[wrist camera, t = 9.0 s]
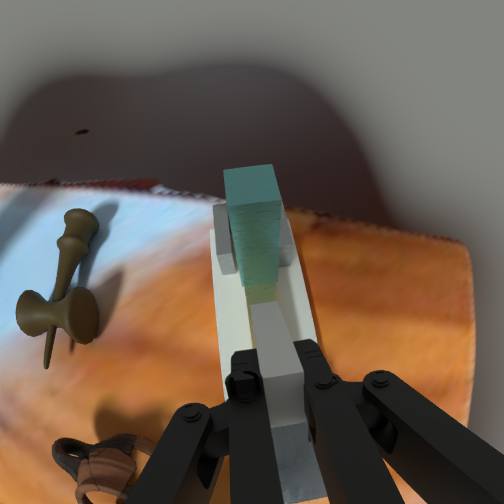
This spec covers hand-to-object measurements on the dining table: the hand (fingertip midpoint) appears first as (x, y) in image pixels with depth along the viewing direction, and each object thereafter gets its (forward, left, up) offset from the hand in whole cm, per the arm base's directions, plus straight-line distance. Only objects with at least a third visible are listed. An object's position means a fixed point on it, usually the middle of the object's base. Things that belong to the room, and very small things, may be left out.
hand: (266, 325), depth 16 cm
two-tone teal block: (-5, +3, -10) cm, 12 cm away
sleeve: (+8, -4, -12) cm, 15 cm away
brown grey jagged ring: (+2, -19, -12) cm, 22 cm away
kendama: (-19, -14, -12) cm, 27 cm away
